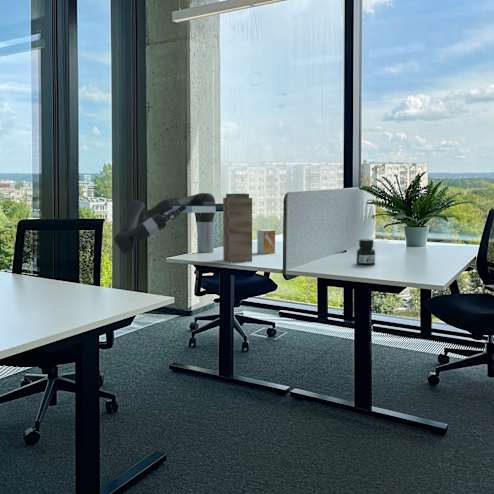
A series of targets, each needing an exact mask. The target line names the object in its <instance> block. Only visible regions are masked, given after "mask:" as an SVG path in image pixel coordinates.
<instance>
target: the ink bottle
mask: <svg viewBox="0 0 494 494" xmlns="http://www.w3.org/2000/svg"><path fill="white" fill-rule="evenodd" d="M356 264H357V265H361V266H373V265H375V264H376V250H374V239H371V238H361V239H358V249H357V250H356Z"/></svg>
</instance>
